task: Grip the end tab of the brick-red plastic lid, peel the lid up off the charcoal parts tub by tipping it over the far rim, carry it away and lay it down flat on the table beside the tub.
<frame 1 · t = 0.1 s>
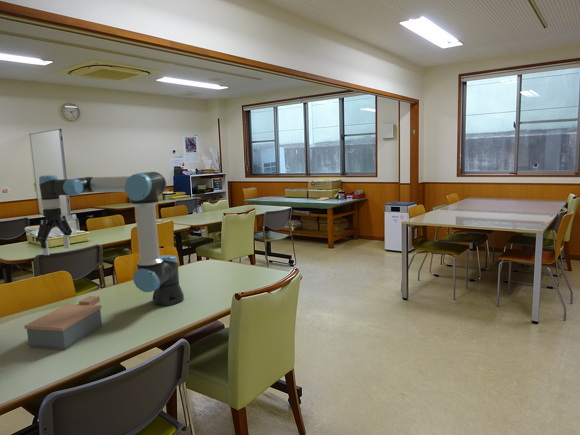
hand: (57, 251, 200), 28 cm above the table, fingers open, 13 cm apart
tub: (67, 336, 169), on the table
lid: (65, 317, 168), point 8 cm above the table, touching tub
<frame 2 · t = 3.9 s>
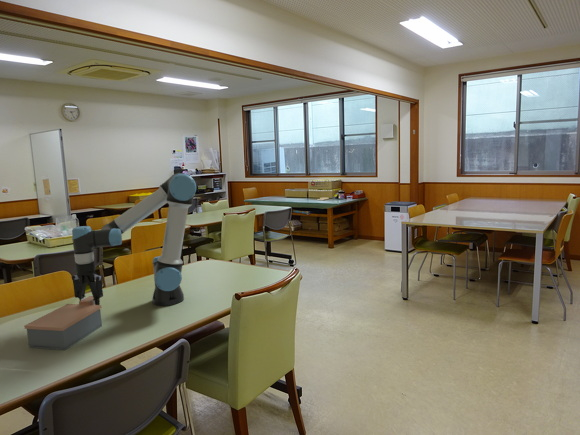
hand: (90, 312, 183), 4 cm above the table, fingers closed on lid, 5 cm apart
lid: (65, 317, 168), point 8 cm above the table, touching gripper, tub
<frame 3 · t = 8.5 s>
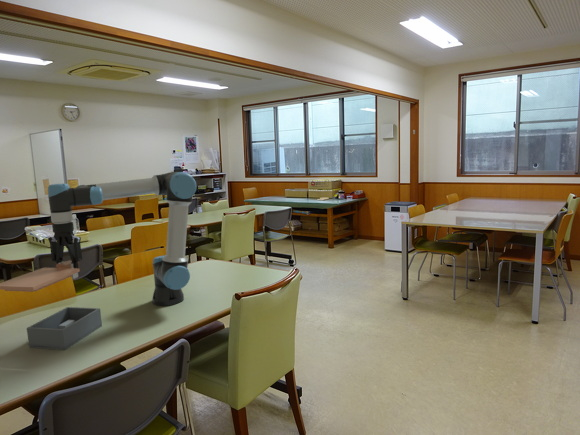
hand: (69, 277, 170), 23 cm above the table, fingers closed on lid, 5 cm apart
lid: (39, 279, 155), point 27 cm above the table, touching gripper
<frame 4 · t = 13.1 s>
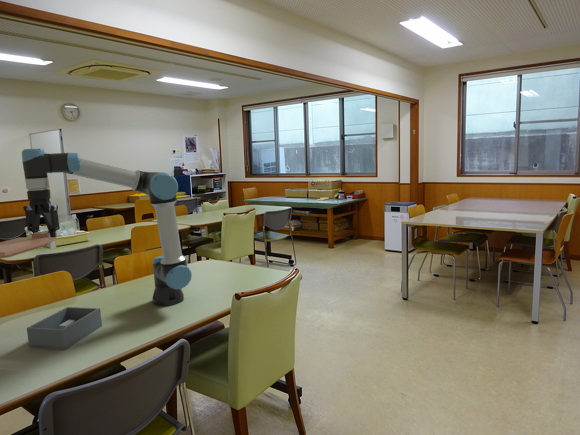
hand: (46, 248, 162), 37 cm above the table, fingers closed on lid, 5 cm apart
lid: (12, 247, 147), point 41 cm above the table, touching gripper
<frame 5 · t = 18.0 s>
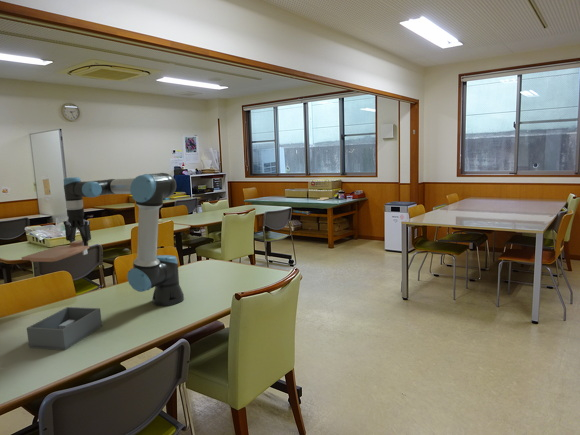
hand: (80, 254, 209), 24 cm above the table, fingers closed on lid, 5 cm apart
lid: (57, 253, 193), point 28 cm above the table, touching gripper
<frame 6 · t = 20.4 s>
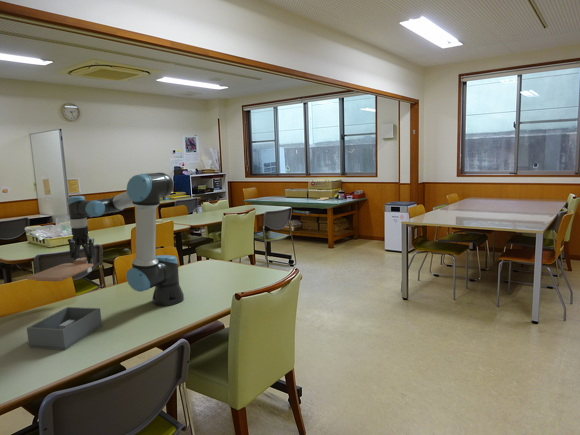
hand: (84, 271, 212), 15 cm above the table, fingers closed on lid, 5 cm apart
lid: (62, 272, 196), point 19 cm above the table, touching gripper
when the fingers open (7 cm above the table, at t = 22.5 s): lid drops 10 cm, point 1 cm above the table.
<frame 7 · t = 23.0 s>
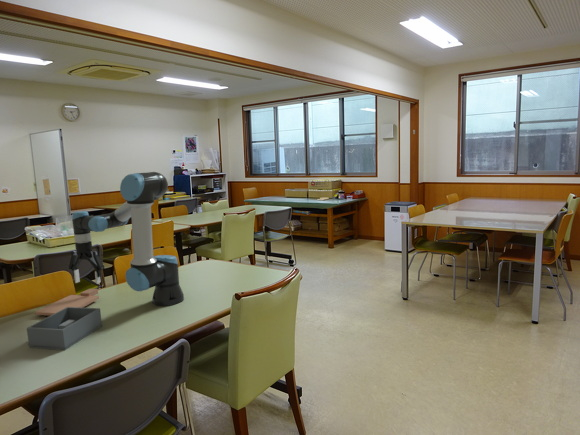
hand: (87, 282, 214), 8 cm above the table, fingers open, 11 cm apart
lid: (68, 306, 201), point 1 cm above the table
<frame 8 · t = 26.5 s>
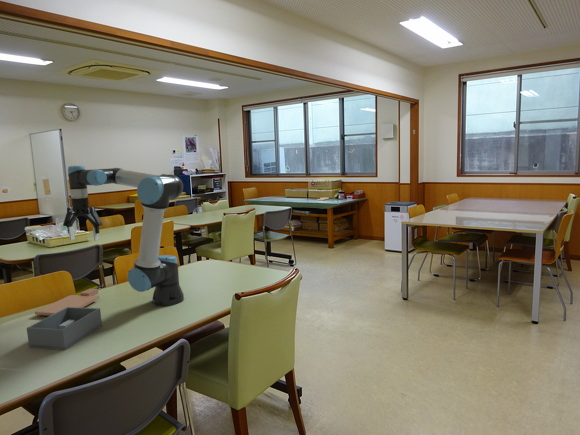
hand: (84, 239, 206), 32 cm above the table, fingers open, 13 cm apart
nothing on the table moved.
at the end: lid touching table; lid inside the target area (3.8 cm from its centre), point 1.2 cm above the table; the gripper is holding nothing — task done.
